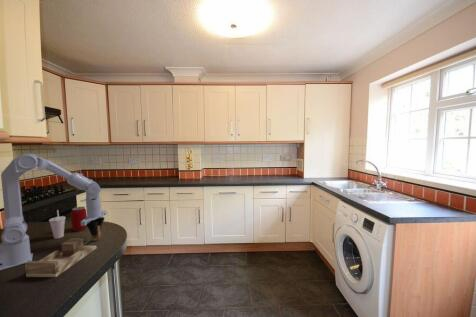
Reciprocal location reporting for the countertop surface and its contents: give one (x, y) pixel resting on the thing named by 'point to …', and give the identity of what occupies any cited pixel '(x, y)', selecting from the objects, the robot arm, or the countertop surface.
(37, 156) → the robot arm
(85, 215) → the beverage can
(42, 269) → the lane shelf
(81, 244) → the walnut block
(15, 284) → the countertop surface
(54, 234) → the smoothie
